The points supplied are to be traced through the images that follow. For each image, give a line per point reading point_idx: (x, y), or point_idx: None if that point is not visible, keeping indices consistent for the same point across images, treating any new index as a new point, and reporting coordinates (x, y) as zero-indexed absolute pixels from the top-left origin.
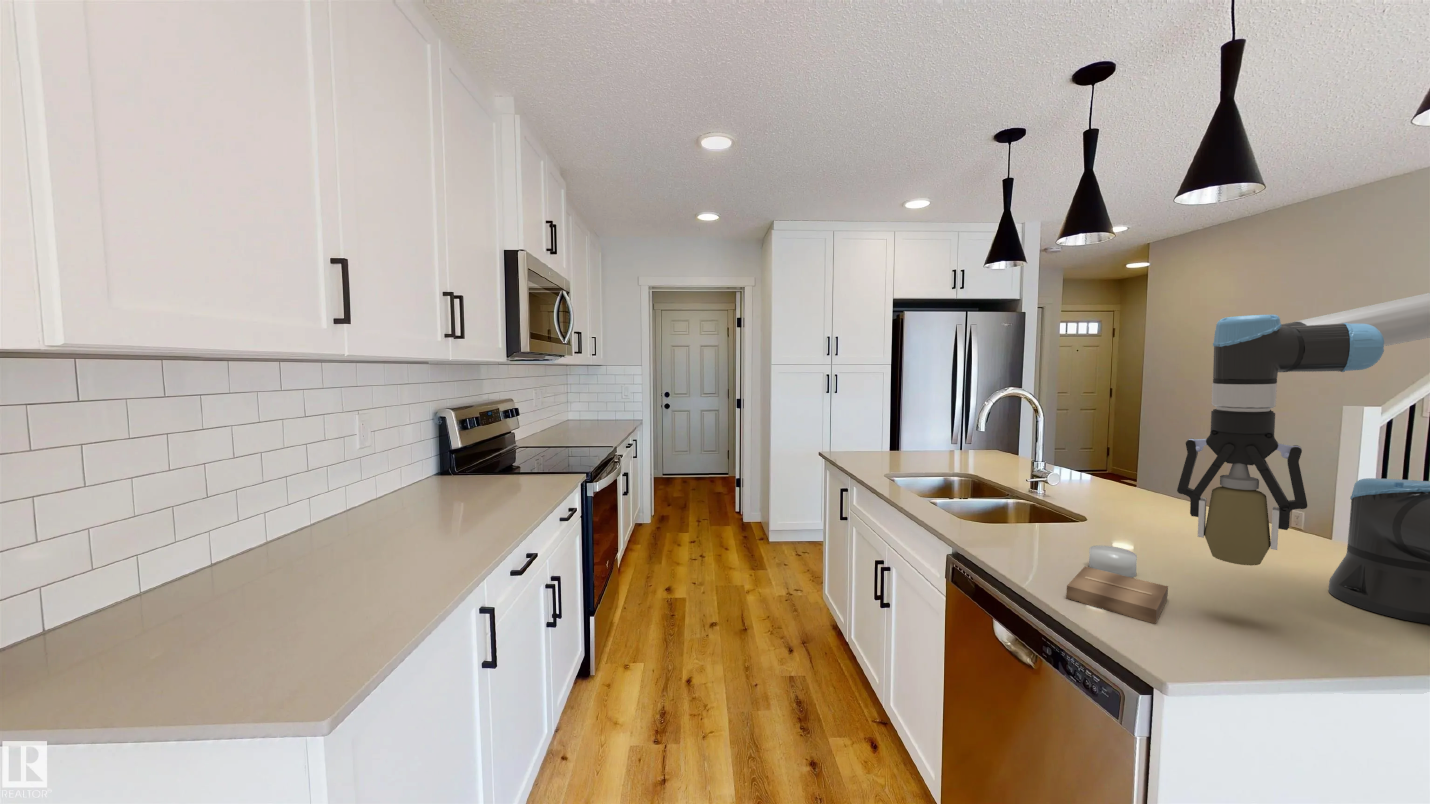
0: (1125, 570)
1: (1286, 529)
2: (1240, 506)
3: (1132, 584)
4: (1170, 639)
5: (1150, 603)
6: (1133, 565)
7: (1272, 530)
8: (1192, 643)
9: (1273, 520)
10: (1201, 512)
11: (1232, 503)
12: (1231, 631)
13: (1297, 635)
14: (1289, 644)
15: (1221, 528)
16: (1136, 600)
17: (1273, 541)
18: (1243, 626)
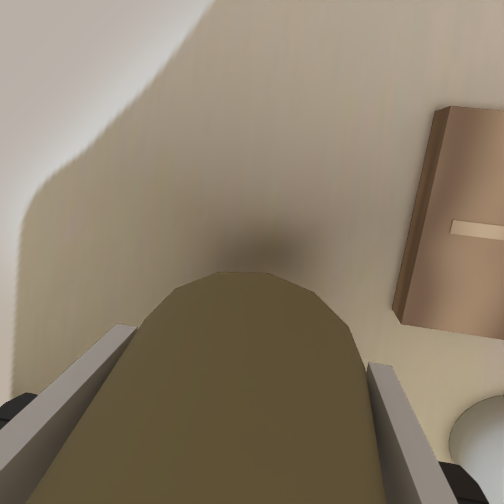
0: (489, 416)
1: (26, 395)
2: (188, 430)
3: (494, 280)
4: (409, 28)
5: (462, 148)
6: (473, 442)
7: (87, 375)
8: (362, 43)
9: (45, 414)
10: (426, 466)
11: (246, 459)
12: (277, 191)
13: (167, 261)
14: (183, 197)
15: (313, 328)
16: (498, 147)
17: (111, 343)
18: (253, 241)
